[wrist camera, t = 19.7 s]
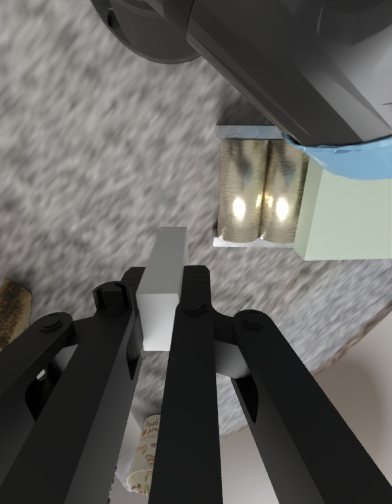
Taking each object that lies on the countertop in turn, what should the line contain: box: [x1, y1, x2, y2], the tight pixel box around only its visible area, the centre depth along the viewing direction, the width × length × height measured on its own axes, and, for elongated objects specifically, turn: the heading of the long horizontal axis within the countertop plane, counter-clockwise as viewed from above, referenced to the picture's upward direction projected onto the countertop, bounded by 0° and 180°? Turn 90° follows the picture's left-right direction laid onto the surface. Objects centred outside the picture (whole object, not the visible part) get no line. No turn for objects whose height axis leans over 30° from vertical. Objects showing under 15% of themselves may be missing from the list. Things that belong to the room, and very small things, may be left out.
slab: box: [293, 157, 392, 260], centre depth 27 cm, size 12×14×3 cm
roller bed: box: [212, 125, 310, 247], centre depth 31 cm, size 14×16×5 cm
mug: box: [127, 415, 161, 495], centre depth 50 cm, size 8×13×10 cm, turn 162°
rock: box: [0, 279, 32, 351], centre depth 39 cm, size 11×9×10 cm
